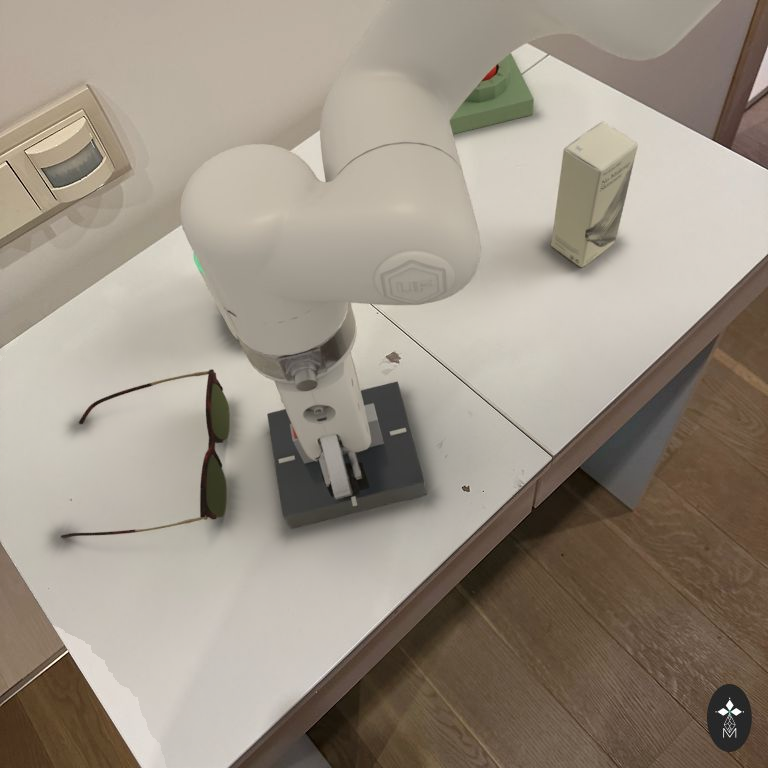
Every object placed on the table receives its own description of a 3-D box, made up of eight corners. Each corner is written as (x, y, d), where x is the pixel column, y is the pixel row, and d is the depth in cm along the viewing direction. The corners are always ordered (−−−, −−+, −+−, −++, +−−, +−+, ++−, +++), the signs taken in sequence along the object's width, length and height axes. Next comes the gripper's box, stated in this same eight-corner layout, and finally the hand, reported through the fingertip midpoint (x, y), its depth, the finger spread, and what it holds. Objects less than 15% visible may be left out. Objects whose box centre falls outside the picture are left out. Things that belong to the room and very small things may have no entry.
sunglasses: (225, 536, 64) (202, 516, 60) (66, 558, 66) (33, 540, 62) (231, 392, 72) (211, 365, 67) (88, 415, 74) (59, 391, 69)
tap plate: (399, 391, 69) (396, 374, 67) (428, 501, 64) (426, 487, 61) (274, 422, 69) (265, 406, 67) (292, 535, 64) (283, 523, 61)
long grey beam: (380, 427, 64) (373, 401, 60) (384, 444, 64) (377, 418, 59) (301, 447, 64) (289, 422, 60) (304, 464, 63) (291, 439, 59)
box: (581, 270, 74) (598, 174, 63) (549, 246, 76) (560, 148, 65) (618, 241, 75) (641, 142, 64) (585, 218, 77) (602, 118, 66)
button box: (507, 61, 91) (507, 32, 88) (532, 114, 86) (534, 85, 82) (427, 81, 91) (425, 52, 87) (448, 135, 86) (446, 106, 82)
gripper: (380, 424, 44) (406, 524, 58) (328, 212, 53) (362, 346, 67) (255, 455, 44) (313, 548, 58) (225, 237, 52) (281, 366, 67)
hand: (339, 439), depth 63 cm, fingers open, 8 cm apart
